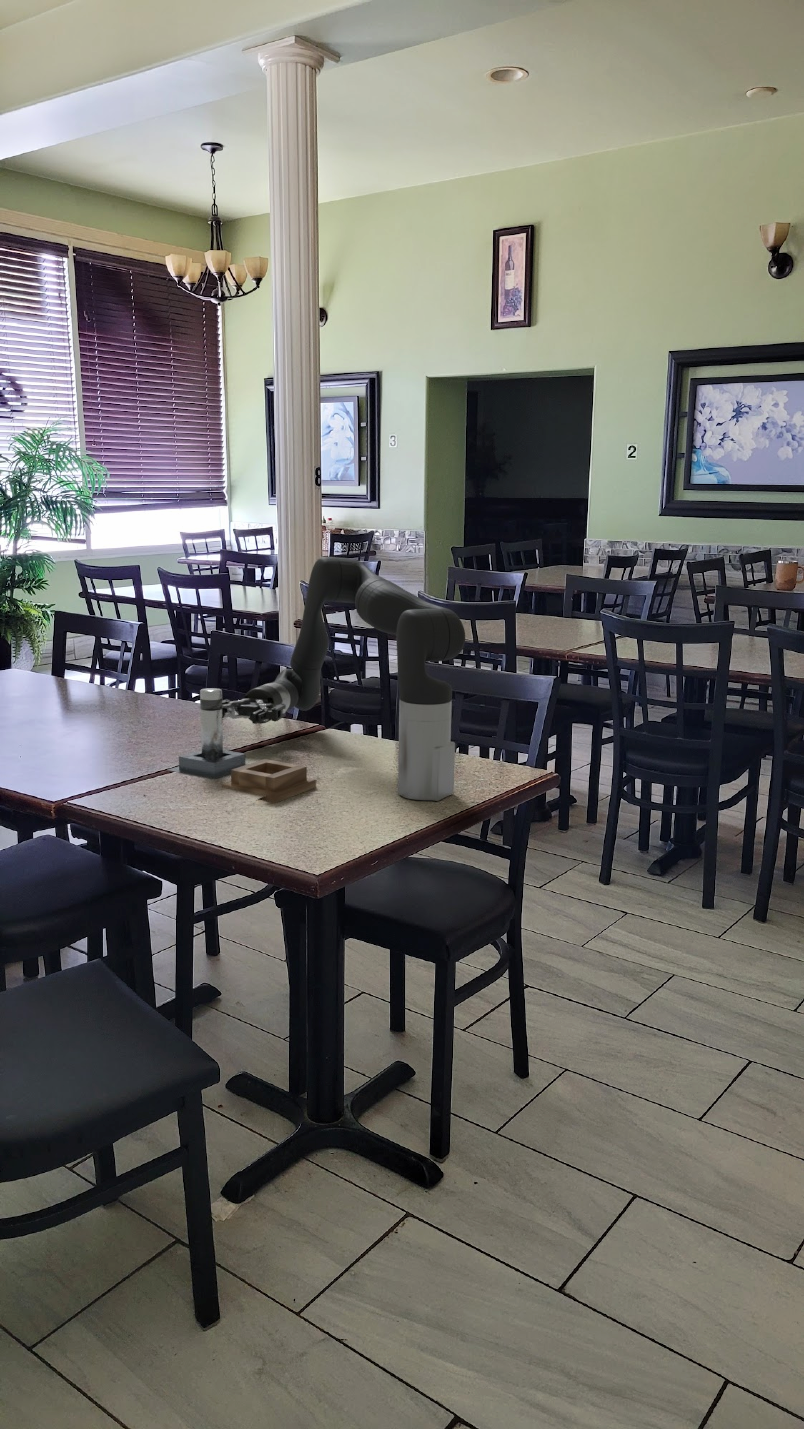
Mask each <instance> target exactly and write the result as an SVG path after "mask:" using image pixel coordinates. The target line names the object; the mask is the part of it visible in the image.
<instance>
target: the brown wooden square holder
mask: <svg viewBox="0 0 804 1429" xmlns="http://www.w3.org/2000/svg"><path fill="white" fill-rule="evenodd" d="M247 764H248V765H245V766H242V767H238V768H235V769H232V770H231V775H230V780H229V781H227V782H223V783H221V788H224V789H225V788H226V789H231V790H236V791H240V792H244V793H249V794H255V795H259V796H262V797H259V798H257V800H259V801H263V802H269V803H272V804H276V803H279V802H282V801H284V800H287V799H290V798H292V797H294V796H297V795H300V794H302V793H305V792H308V791H310V790H313V789H315V788H316V789H317V779H316V778H311V777H308V776H307V775H308V771H307V770H308V767H307V765H301V764H300V765H299V764H295V763H290V762H284V761H279V760H278V761H277V760H273V759H267V758H264V759H261V760H258V761H254V762H250V763H247Z"/></svg>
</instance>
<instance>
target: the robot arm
mask: <svg viewBox="0 0 804 1429" xmlns="http://www.w3.org/2000/svg"><path fill="white" fill-rule="evenodd" d="M325 602H331V603H333V602H334V603H344V604H345V603H348V604H355V609H356V613H357V614H358V617H360V619H362V621H363V622H365V623H366V624H368V625H369V626H371V627H373V628H374V629H376V630H377V631H379V632H382V633H385V634H390V635H394V636H396V656H397V659H396V660H397V661H396V662H397V665H396V666H397V683H398V690H399V705H398V706H399V707H398V708H399V714H398V715H399V716H398V765H397V768H398V771H397V773H398V776H397V777H398V779H397V785H398V786H397V791H398V792H397V794H398V795H399V796H401V797H403V798H405V799H410V800H416V801H437V802H439V801H441V800H442V799H445V798H447V797H449V796H451V795H453V794H454V792H455V791H454V790H455V762H456V757H455V756H456V743H455V742H454V741H451V736H452V733H451V732H452V703H453V702H452V701H453V700H452V698H453V688H452V685H451V684H449V683H448V682H446V681H444V680H441V679H438V678H434V677H433V676H430V675H429V674H428V673H427V669H426V668H427V667H426V663H431V662H443V661H449V660H452V659H454V658H456V657H458V655H460V654H461V652H462V651H463V650H464V647H465V644H466V631H465V627H464V625H463V622H462V620H461V618H460V617H459V616H458V615H457V614H456V613H455V612H454V611H453V610H451V609H449V608H447V607H444V606H443V607H442V606H440V605H436V604H433V603H431V602H428V601H426V600H424V599H422V598H420V597H418V596H417V595H415V594H413V593H411V592H409V591H407V590H406V589H404V588H402V586H400V585H398V584H396V583H394V582H392V581H390V580H388V579H386V578H385V577H382V576H380V575H377V574H376V573H374V572H373V571H372V570H371V569H370V568H369V567H368V566H367V565H366V564H365V563H363V562H362V561H361V560H358V559H354V558H350V557H349V558H347V557H337V556H336V557H335V556H322V557H319V558H318V559H316V561H315V563H314V564H313V567H312V569H311V573H310V575H309V581H308V586H307V591H306V596H305V602H304V609H303V615H302V622H301V625H300V626H301V627H300V630H299V635H298V638H297V640H296V643H295V646H294V649H293V652H292V654H291V658H290V660H289V661H290V663H289V664H290V667H291V668H285V669H282V670H281V671H280V672H279V673H278V675H277V676H276V677H275V680H274V681H272V682H269V683H265V684H263V685H260V686H257V687H254V688H251V689H250V690H248V691H247V692H246V694H245V695H243V696H244V697H243V698H242V699H240V700H233V701H232V700H230V699H222V719H225V718H230V719H232V720H235V719H241V718H242V719H248V720H249V721H250V722H252V724H253V725H254V724H255V725H257V724H261V725H262V724H265V723H269V722H270V721H272V722H278V721H279V720H281V719H283V718H285V717H286V715H287V714H286V713H287V712H288V711H290V710H292V709H293V708H296V709H298V710H299V711H309V710H311V709H312V708H313V707H314V706H315V705H316V704H317V702H318V700H319V698H320V693H321V674H322V673H321V672H322V667H323V664H324V662H325V660H326V656H327V654H328V650H329V647H330V645H329V644H330V639H329V633H328V629H327V627H326V624H325V623H324V622H325V621H324V618H323V616H322V615H323V614H322V611H323V606H324V604H325ZM235 712H236V714H235Z"/></svg>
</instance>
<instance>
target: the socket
mask: <svg viewBox="0 0 804 1429" xmlns="http://www.w3.org/2000/svg"><path fill="white" fill-rule="evenodd" d="M248 764H249V763H246V753H243V752H238V751H234V750H233V751H232V750H226V749H223V757H221V758H218V759H215V760H212V759H206V758H202V751H201V749H200V750H196V751H193V752H190V753H186V754H183V755H179V756H178V766H175V767H172V768H168V769H167V771H170V772H174V773H179V774H184V775H189V776H194V777H199V778H204V779H209V780H215V781H216V780H219V779H223V778H226V777H228V776H231V770H232V769H235V768H238V767H242V766H245V765H248Z"/></svg>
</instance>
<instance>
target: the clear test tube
mask: <svg viewBox="0 0 804 1429" xmlns="http://www.w3.org/2000/svg"><path fill="white" fill-rule="evenodd" d="M199 695H200V698H199V708H200V739H201V740H200V741H201V742H200V743H201V746H200V747H201V749H200V750H201V751H202V758H206V759H212V760H215V759H218V758H221V757H223V750H224V746H223V745H224V740H223V738H224V736H223V734H224V733H223V728H224V727H223V725H224V724H223V718H222V701H223V689H222V688H215V687H214V688H213V687H212V688H202V689H200V690H199Z"/></svg>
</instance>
